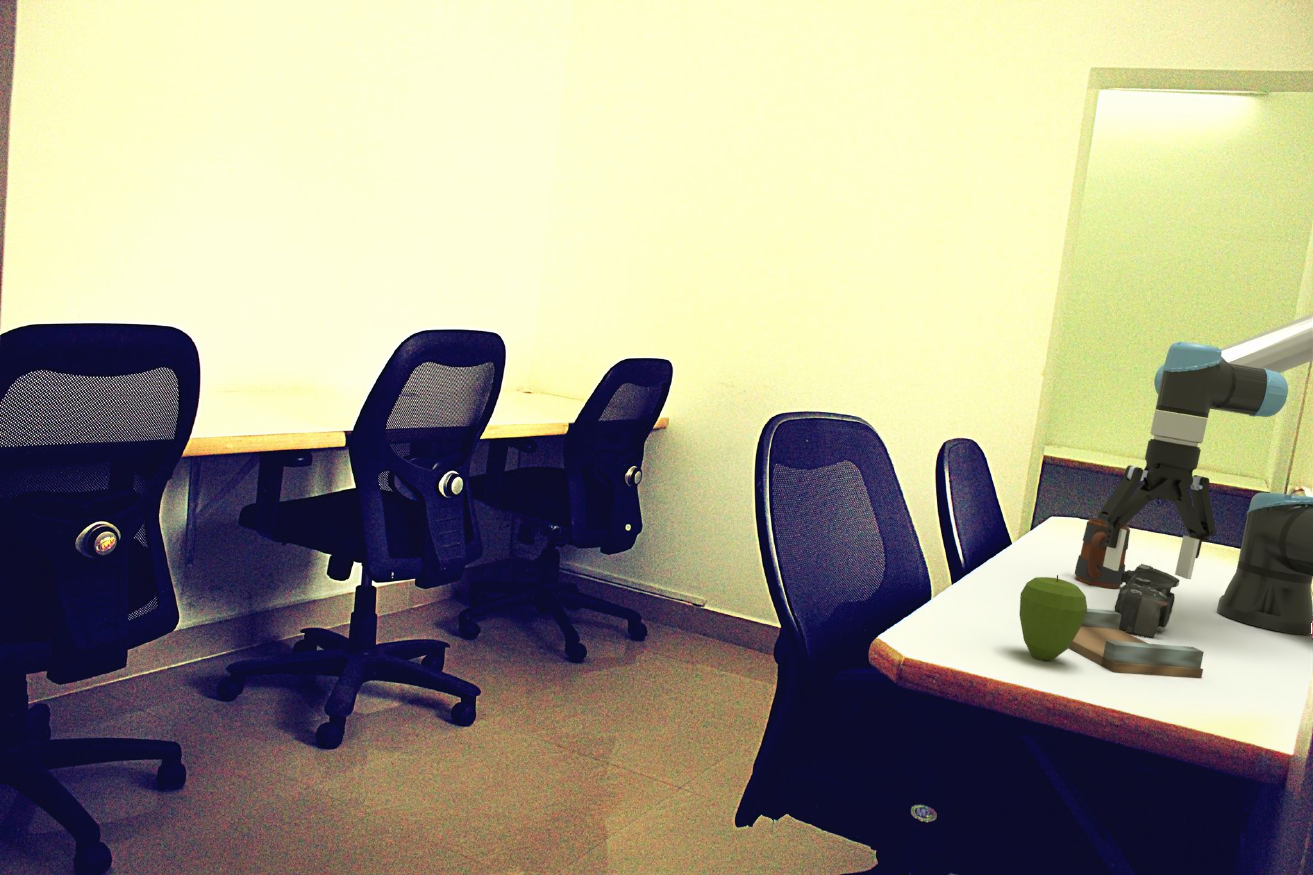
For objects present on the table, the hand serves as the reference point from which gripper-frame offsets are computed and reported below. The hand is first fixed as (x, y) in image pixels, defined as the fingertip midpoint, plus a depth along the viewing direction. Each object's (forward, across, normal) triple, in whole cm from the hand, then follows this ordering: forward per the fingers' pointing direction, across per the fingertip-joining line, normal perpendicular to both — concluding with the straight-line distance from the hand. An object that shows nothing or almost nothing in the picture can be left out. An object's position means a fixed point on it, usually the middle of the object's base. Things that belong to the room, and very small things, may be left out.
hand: (1146, 573), depth 168 cm
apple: (+10, +30, +20) cm, 38 cm away
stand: (+9, +15, +14) cm, 23 cm away
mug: (+9, -15, -30) cm, 35 cm away
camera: (+9, -1, 0) cm, 9 cm away
